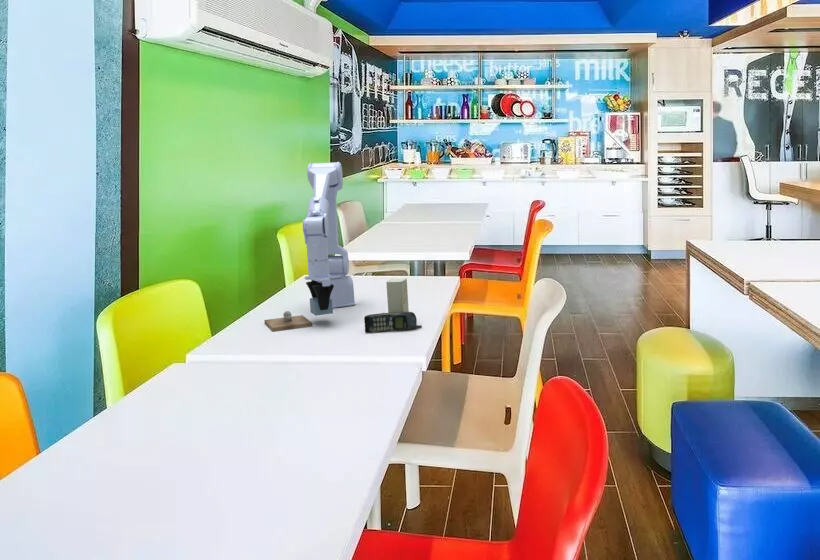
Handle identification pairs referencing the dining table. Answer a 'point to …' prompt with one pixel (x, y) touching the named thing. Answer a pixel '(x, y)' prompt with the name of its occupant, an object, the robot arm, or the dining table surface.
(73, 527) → the dining table surface
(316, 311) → the slate blue cube
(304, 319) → the board
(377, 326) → the mobile phone
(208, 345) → the dining table surface
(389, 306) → the skincare box
